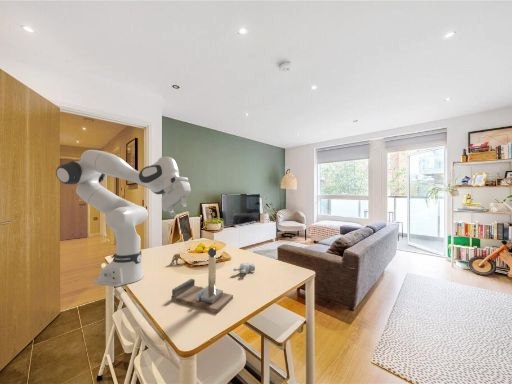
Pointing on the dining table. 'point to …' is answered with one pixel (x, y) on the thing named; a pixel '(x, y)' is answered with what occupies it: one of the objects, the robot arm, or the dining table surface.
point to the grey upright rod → (210, 282)
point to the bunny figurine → (245, 268)
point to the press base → (188, 296)
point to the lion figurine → (176, 258)
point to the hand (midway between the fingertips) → (178, 211)
